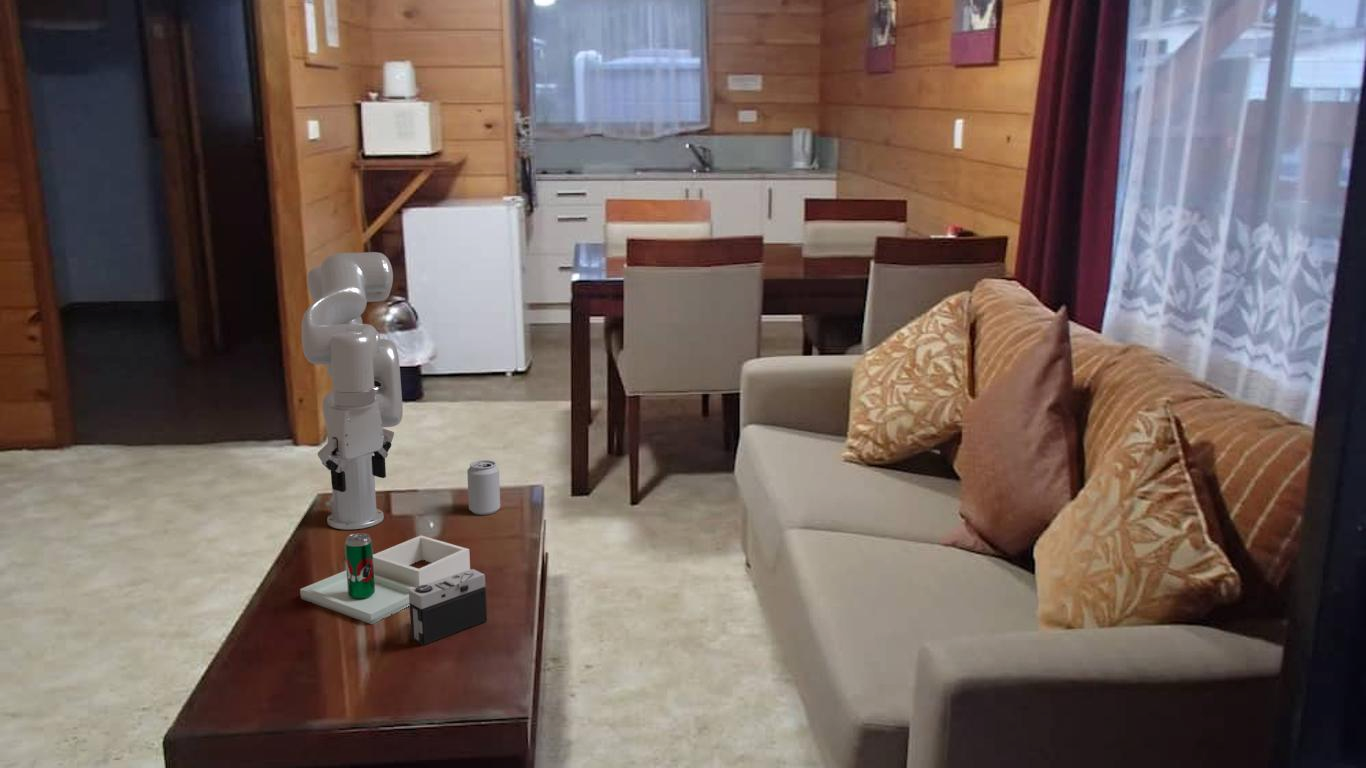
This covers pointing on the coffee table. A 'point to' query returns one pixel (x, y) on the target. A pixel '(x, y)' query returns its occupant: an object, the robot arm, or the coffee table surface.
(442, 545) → the holder
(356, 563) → the soda can
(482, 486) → the can
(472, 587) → the camera
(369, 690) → the coffee table surface
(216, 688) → the coffee table surface
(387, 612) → the tray
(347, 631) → the coffee table surface
